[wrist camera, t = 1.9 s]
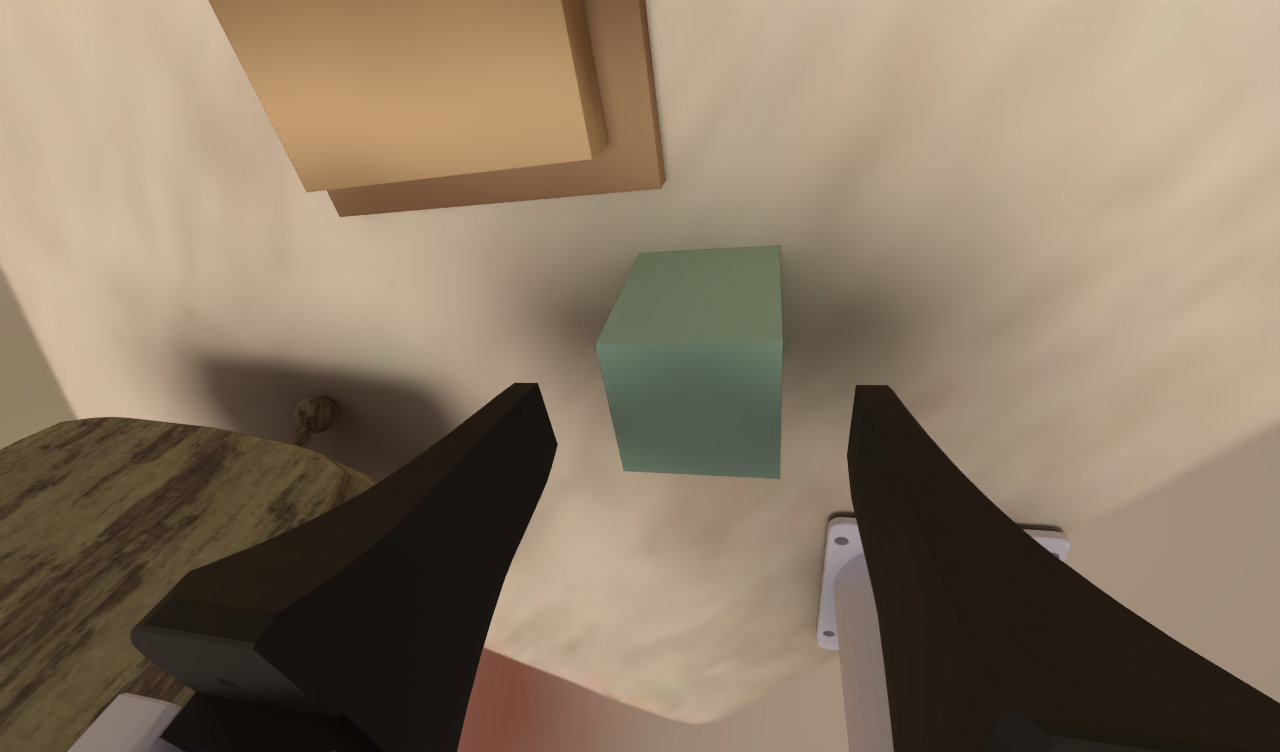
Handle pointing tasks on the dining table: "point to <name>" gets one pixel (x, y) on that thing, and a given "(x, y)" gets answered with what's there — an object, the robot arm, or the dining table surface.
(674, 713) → the dining table surface
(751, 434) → the block
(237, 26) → the top slab
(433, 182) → the bottom slab
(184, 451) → the tabletop clock
